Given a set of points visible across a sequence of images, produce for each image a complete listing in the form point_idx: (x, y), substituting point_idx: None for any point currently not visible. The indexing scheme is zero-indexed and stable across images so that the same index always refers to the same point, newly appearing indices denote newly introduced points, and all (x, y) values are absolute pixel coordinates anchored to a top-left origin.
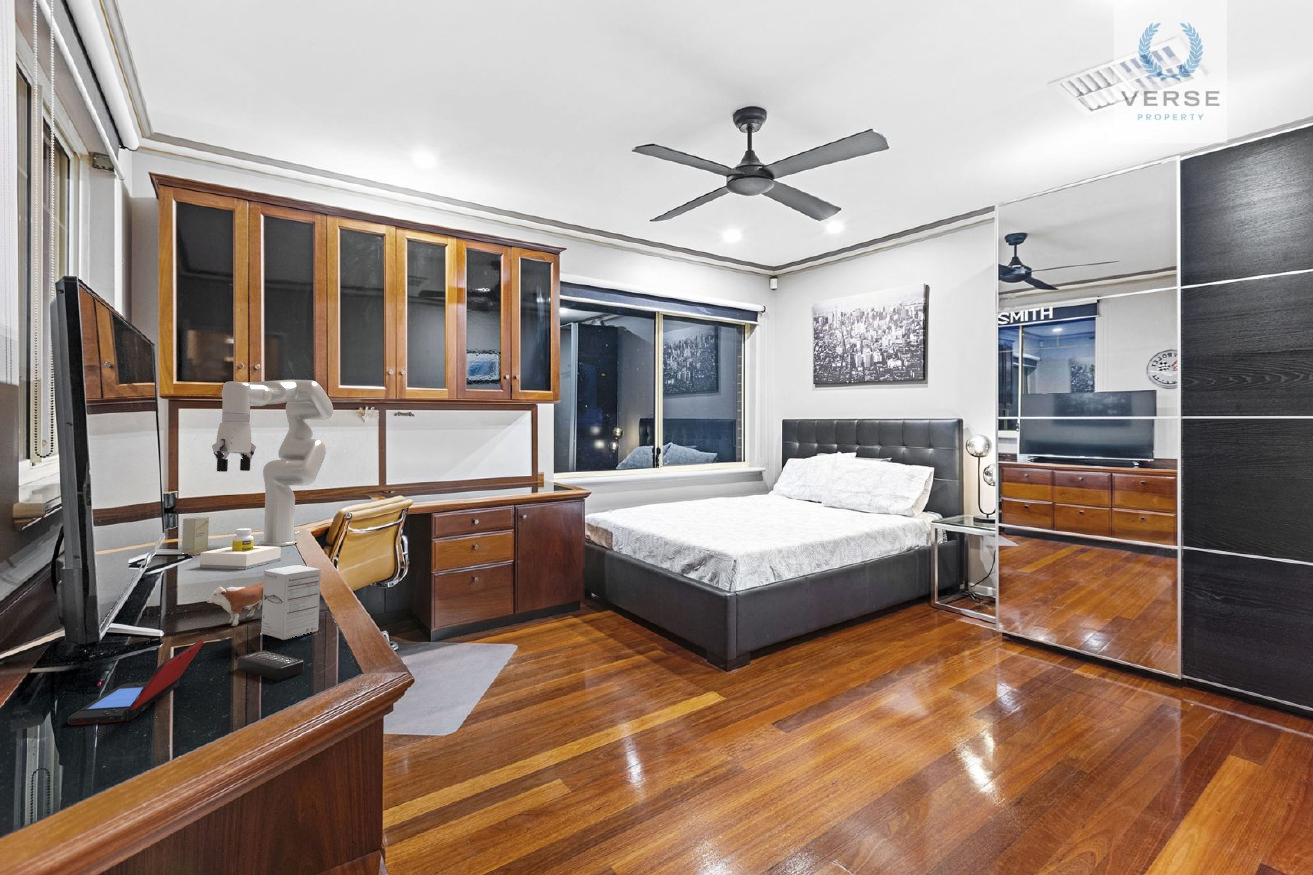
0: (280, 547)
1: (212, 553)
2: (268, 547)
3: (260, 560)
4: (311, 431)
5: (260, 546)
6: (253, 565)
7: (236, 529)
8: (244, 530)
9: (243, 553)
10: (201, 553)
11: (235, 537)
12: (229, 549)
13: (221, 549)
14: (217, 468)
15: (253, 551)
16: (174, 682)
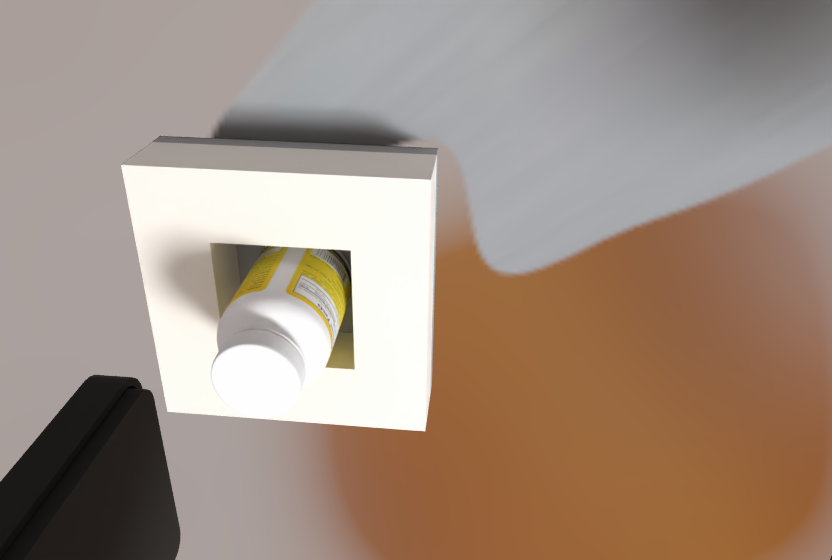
0: (422, 428)
1: (135, 237)
2: (387, 389)
3: None
4: None
5: (412, 332)
6: None
7: (220, 355)
8: (227, 403)
9: (180, 386)
10: (124, 169)
11: (219, 334)
12: (266, 242)
13: (253, 199)
14: (68, 422)
15: None
16: None
